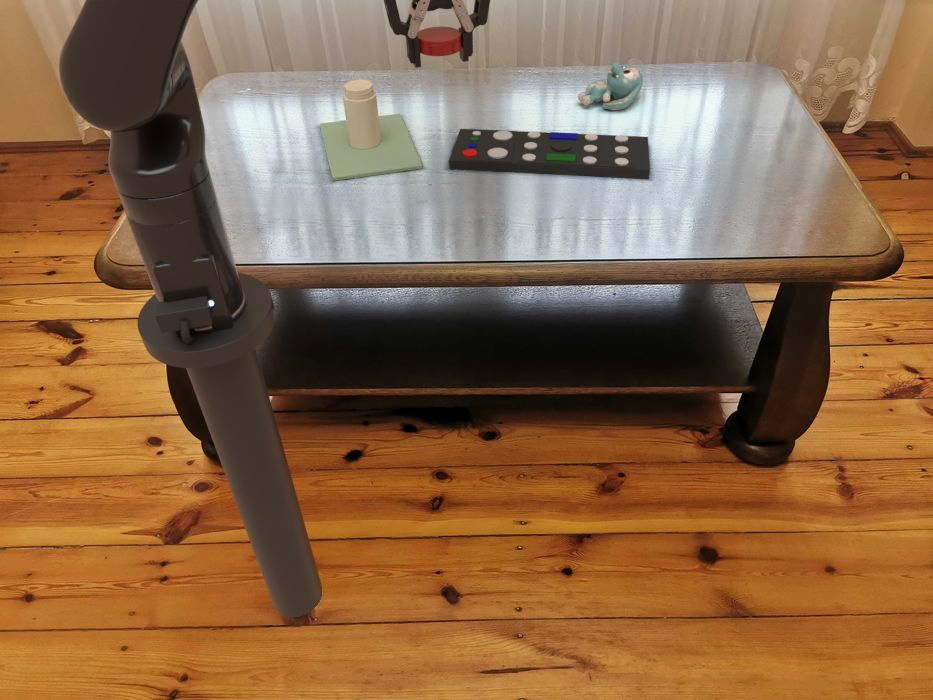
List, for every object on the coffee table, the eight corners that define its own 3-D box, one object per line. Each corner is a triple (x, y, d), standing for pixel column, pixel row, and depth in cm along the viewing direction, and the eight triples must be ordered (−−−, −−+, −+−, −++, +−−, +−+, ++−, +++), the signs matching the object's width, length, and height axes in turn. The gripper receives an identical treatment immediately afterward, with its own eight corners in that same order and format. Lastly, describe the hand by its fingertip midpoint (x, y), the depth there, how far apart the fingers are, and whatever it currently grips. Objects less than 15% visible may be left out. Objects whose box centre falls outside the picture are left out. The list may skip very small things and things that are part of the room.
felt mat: (423, 168, 116) (422, 165, 116) (332, 181, 114) (332, 177, 113) (400, 116, 131) (399, 113, 130) (320, 126, 128) (319, 123, 128)
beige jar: (385, 145, 121) (379, 87, 115) (354, 152, 120) (347, 94, 113) (375, 132, 125) (368, 76, 119) (345, 139, 123) (337, 82, 117)
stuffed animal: (563, 67, 132) (623, 43, 133) (568, 104, 137) (625, 81, 138) (594, 89, 124) (656, 63, 126) (597, 127, 129) (657, 102, 131)
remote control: (460, 137, 124) (460, 125, 123) (646, 145, 120) (648, 133, 119) (449, 168, 116) (448, 157, 115) (648, 178, 112) (650, 166, 111)
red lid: (420, 40, 98) (419, 26, 97) (463, 40, 98) (463, 26, 97) (414, 56, 94) (413, 41, 93) (459, 56, 94) (458, 41, 92)
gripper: (484, -97, 90) (485, 46, 101) (366, -87, 87) (380, 59, 98) (502, -84, 84) (501, 66, 95) (377, -73, 82) (391, 80, 93)
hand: (440, 62), depth 97 cm, fingers closed on red lid, 5 cm apart
